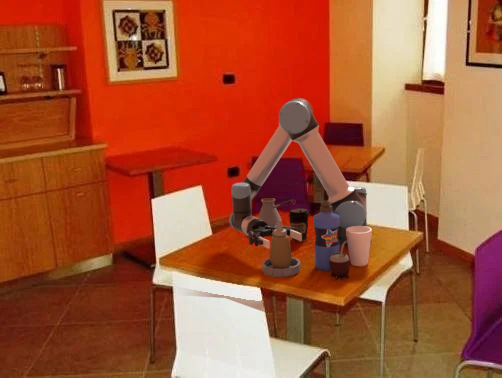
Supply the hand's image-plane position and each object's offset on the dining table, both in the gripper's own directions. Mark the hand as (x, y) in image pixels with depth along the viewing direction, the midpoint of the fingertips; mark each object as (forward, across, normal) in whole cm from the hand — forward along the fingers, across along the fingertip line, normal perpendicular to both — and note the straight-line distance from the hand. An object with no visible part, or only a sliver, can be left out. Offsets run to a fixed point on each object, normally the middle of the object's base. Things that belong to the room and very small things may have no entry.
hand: (285, 241), depth 215 cm
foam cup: (+8, -27, -12) cm, 31 cm away
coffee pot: (-49, -27, -12) cm, 57 cm away
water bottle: (+4, -16, -12) cm, 20 cm away
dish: (-3, 0, -12) cm, 12 cm away
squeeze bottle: (-3, 0, -11) cm, 12 cm away
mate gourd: (+15, -13, -12) cm, 23 cm away
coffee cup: (-29, -26, -12) cm, 40 cm away
